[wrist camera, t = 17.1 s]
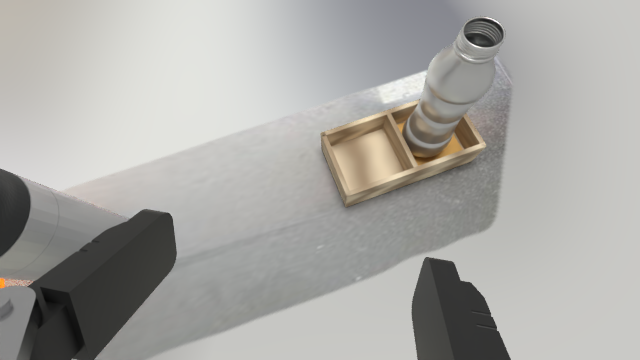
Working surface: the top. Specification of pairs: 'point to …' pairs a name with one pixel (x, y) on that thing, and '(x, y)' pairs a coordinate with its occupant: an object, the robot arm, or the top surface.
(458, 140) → the tray
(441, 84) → the plastic bottle
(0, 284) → the orange juice
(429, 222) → the top surface
